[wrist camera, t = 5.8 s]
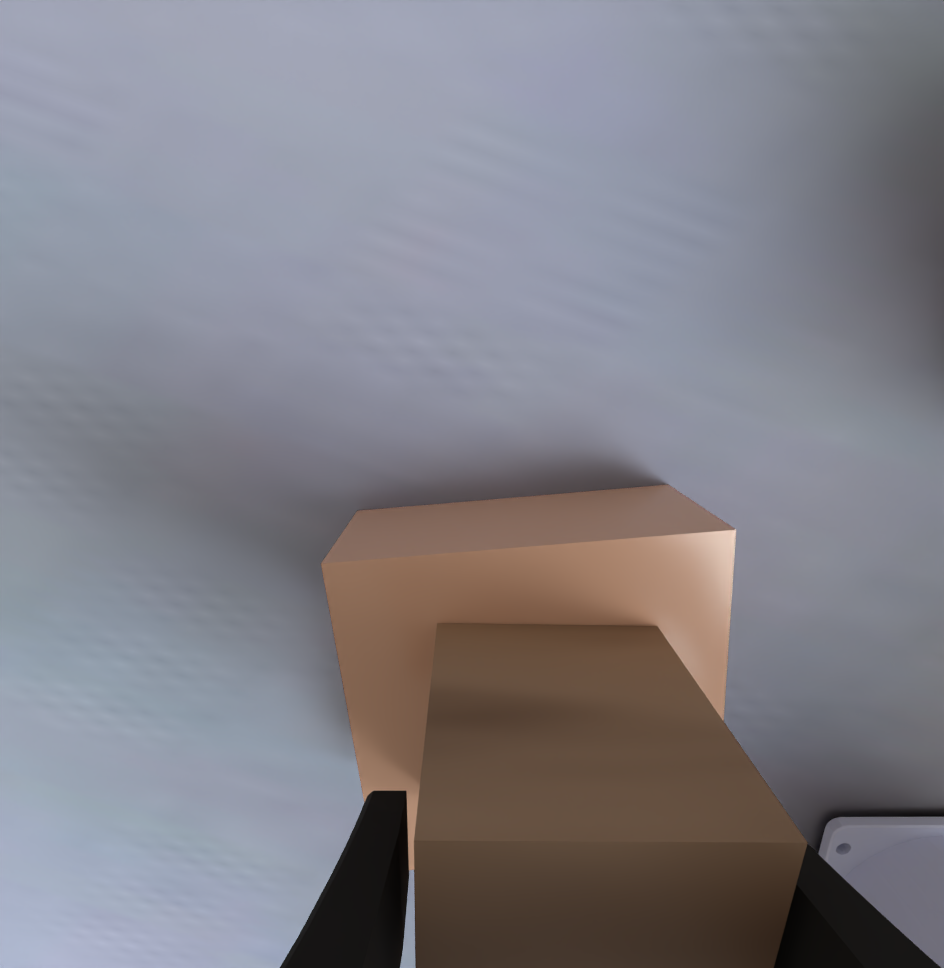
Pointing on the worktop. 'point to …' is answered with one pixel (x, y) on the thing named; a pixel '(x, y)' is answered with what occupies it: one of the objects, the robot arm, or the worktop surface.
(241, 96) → the worktop surface
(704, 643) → the terracotta block
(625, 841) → the walnut cube
